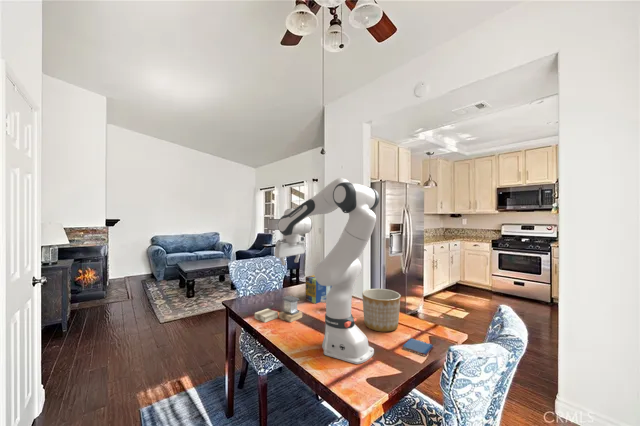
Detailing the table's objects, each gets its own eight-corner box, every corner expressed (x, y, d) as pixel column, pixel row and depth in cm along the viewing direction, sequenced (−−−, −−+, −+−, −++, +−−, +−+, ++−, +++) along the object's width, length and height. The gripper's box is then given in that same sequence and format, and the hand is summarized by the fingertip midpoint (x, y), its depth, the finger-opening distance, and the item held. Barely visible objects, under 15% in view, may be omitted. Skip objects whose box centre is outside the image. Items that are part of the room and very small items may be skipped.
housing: (299, 312, 151) (299, 298, 151) (292, 315, 147) (292, 300, 147) (289, 309, 156) (289, 295, 156) (282, 311, 152) (282, 297, 152)
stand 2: (302, 317, 152) (302, 311, 152) (290, 322, 145) (290, 316, 145) (290, 313, 158) (290, 308, 158) (279, 318, 151) (279, 312, 151)
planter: (371, 315, 155) (371, 286, 155) (405, 323, 144) (405, 292, 144) (355, 327, 139) (355, 295, 139) (392, 337, 128) (392, 302, 128)
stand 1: (277, 317, 151) (277, 312, 151) (265, 322, 144) (265, 317, 144) (267, 313, 157) (267, 308, 157) (254, 318, 150) (254, 312, 150)
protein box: (305, 300, 181) (305, 276, 181) (322, 295, 192) (322, 273, 191) (315, 304, 173) (315, 279, 173) (332, 298, 184) (332, 275, 184)
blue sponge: (410, 341, 126) (410, 336, 126) (434, 348, 119) (434, 344, 119) (400, 349, 118) (400, 345, 118) (425, 358, 111) (425, 353, 111)
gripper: (280, 240, 138) (279, 267, 139) (307, 237, 154) (306, 261, 154) (272, 239, 142) (271, 265, 143) (299, 236, 158) (298, 260, 158)
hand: (290, 263), depth 149 cm, fingers open, 8 cm apart
